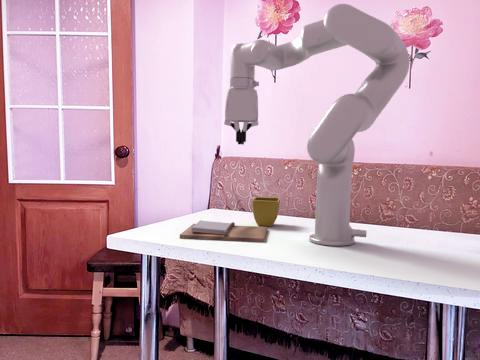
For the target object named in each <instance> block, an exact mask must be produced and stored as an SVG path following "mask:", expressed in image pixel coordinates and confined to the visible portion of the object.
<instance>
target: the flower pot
mask: <svg viewBox="0 0 480 360" xmlns="http://www.w3.org/2000/svg"><path fill="white" fill-rule="evenodd" d="M251 202H252V213H253V218H254V221H255V223H256V225H257V226H258V227H273V226H274V224H275V222H276V220H277V218H278V216H279V211H280V202H281V198H280V197H270V196H269V197H267V196H264V197H263V196H255V197H254V198H253V199H252V200H251Z"/></svg>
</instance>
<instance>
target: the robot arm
mask: <svg viewBox="0 0 480 360" xmlns="http://www.w3.org/2000/svg"><path fill="white" fill-rule="evenodd" d="M346 46H350V47H351V48H353V49H354V50H357V51H359V52H361V53H362V54H363V55H365V56H367V57H368V58H369V59H371V60H373V61H374V62H375V67H374V69H373V70H372V71H371V72H370V73H369V74H368V75H367V77H366V78H365V79H364V81H363V82H362V83H361V85H360V86H359V88H358V89H357V91H356V92H355V93H346V94H343V95H342V96H339V97H338V98H337V99H336V100H335V101H334V102H333V103H332V104H331V106H330V107H329V109H328V110H327V111H326V112H325V114H324V116H323V117H322V119H321V120H320V121H319V123H318V124H317V125H316V127H315V128H314V129H313V131H312V133H311V134H310V135H309V138H308V140H307V145H306V150H307V153H308V155H309V157H310V159H311V160H312V161H314V162H315V163H317V164H318V168H317V174H316V175H317V177H316V193H315V196H316V197H315V219H314V233H312V234H310V235H309V236H308V237H309V238H308V239H309V241H310V242H311V243H314V244H317V245H323V246H331V247H332V246H333V247H335V246H336V247H341V246H342V247H343V246H351V245H353V244H355V237H359V238H367V233H368V232H367V230H363V229H357V228H356V229H355V228H352V226H351V225H350V220H351V218H350V216H351V194H352V177H353V167H354V161H355V160H354V159H355V151H356V149H355V142H354V140H353V139H354V137H355V136H356V134H357V133H361V132H366V131H367V130H369V129H370V128H371V127H372V125H373V124H374V123H375V121H376V120H377V119H378V117H379V116H380V114H381V113H382V111H383V110H385V108H386V107H387V105H388V104H389V102H391V100H392V98H393V97H394V95H395V94H396V93H397V92H398V90H399V89H400V87H401V86H402V84H403V83H404V82H405V79H406V77H407V76H408V73H409V70H410V54H409V51H408V48H407V46H406V44H405V43H404V41H403V39H402V38H401V37H400V35H399V34H398V33H397V32H396V31H395V29H394V28H393V27H392V26H391V25H389V24H388V23H386V22H384V21H382V20H380V19H379V18H376V17H374V16H372V15H370V14H368V13H366V12H364V11H362V10H360V9H358V8H356V7H355V6H352V5H351V4H348V3H338V4H335V5H333V6H332V7H331V8H329V9H328V11H326V13H325V16H324V18H323V19H321V20H318V21H315V22H311V23H309V24H305V25H303V27H302V28H301V30H300V35H299V36H298V37H297V38H295V39H294V40H292V41H289V42H284V43H283V44H279V45H276V44H274V43H273V42H270V41H268V40H266V39H256V40H253V41H250V42H247V43H242V42H241V43H235V44H233V45H232V47H231V49H230V72H229V73H230V79H229V81H230V82H229V84H230V85H229V88H228V89H227V94H226V100H225V109H224V119H225V120H224V122H223V124H224V125H226V126H228V127H231V128H232V129H233V130H234V131H235V141H236V143H237V145H242V146H243V145H244V144H245V143H247V132H248V131H249V130H250V129H251V128H252V127H257V126H259V98H258V90H256V89H255V88H256V87H259V86H260V82H259V81H256V80H255V77H256V76H255V74H256V70H255V66H257V67H260V68H262V69H265V70H269V71H279V70H283V69H286V68H289V67H290V68H291V67H293V66H296V65H299V64H301V63H303V62H304V61H306V60H308V59H310V58H311V57H312V56H316V55H318V54H322V53H326V52H329V51H331V50H334V49H339V48H342V47H346ZM240 123H243V126H242V129H241V128H240Z"/></svg>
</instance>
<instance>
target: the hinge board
mask: <svg viewBox="0 0 480 360" xmlns="http://www.w3.org/2000/svg"><path fill="white" fill-rule="evenodd" d="M230 223H231V228H230V229H229V230H228V232H227V231H225V232H224V233H223V234H213V233H202V232H191V228H192V227H193V226H194V225H195V224H196V223H193V224H192V225H190V226H189V227H188V228H186V229H185V230H184V231H182V232H181V233H180V234H179V239H188V240H189V239H191V240H207V241H208V240H212V241H229V242H230V241H232V242H250V243H251V242H255V243H265V239H266V235H267V232H268V226H258V225H257V226H254V225H253V226H251V225H250V226H249V225H236V224H235V221H232V222H230Z"/></svg>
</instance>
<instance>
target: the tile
mask: <svg viewBox="0 0 480 360" xmlns="http://www.w3.org/2000/svg"><path fill="white" fill-rule="evenodd" d="M231 223H232V222H221V221H210V220H209V221H208V220H198V222H197V223H194V224H195V225H194V226H193V227H192V228H191V232H202V233H213V234H223V233H224V232H225V231H227V232H228V230H229V229H230V228H231Z"/></svg>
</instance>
